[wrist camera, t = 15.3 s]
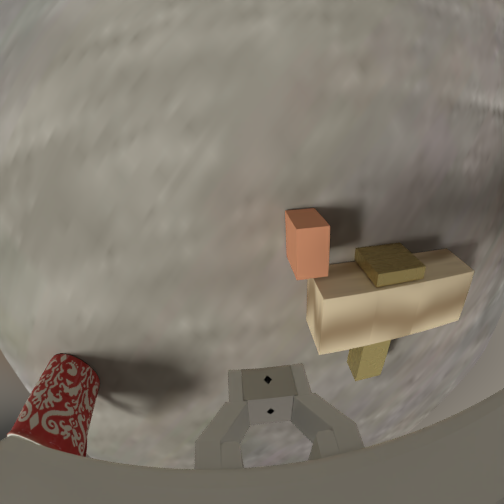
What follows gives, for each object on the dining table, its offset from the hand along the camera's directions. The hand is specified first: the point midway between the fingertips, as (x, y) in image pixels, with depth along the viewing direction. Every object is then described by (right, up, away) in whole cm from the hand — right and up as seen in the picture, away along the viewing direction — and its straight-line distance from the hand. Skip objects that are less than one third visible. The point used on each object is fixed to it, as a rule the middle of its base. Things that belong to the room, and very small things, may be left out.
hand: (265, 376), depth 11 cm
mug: (-23, -12, +20) cm, 33 cm away
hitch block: (+13, +2, +16) cm, 21 cm away
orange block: (+3, +7, +13) cm, 15 cm away
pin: (+12, -2, +18) cm, 22 cm away
